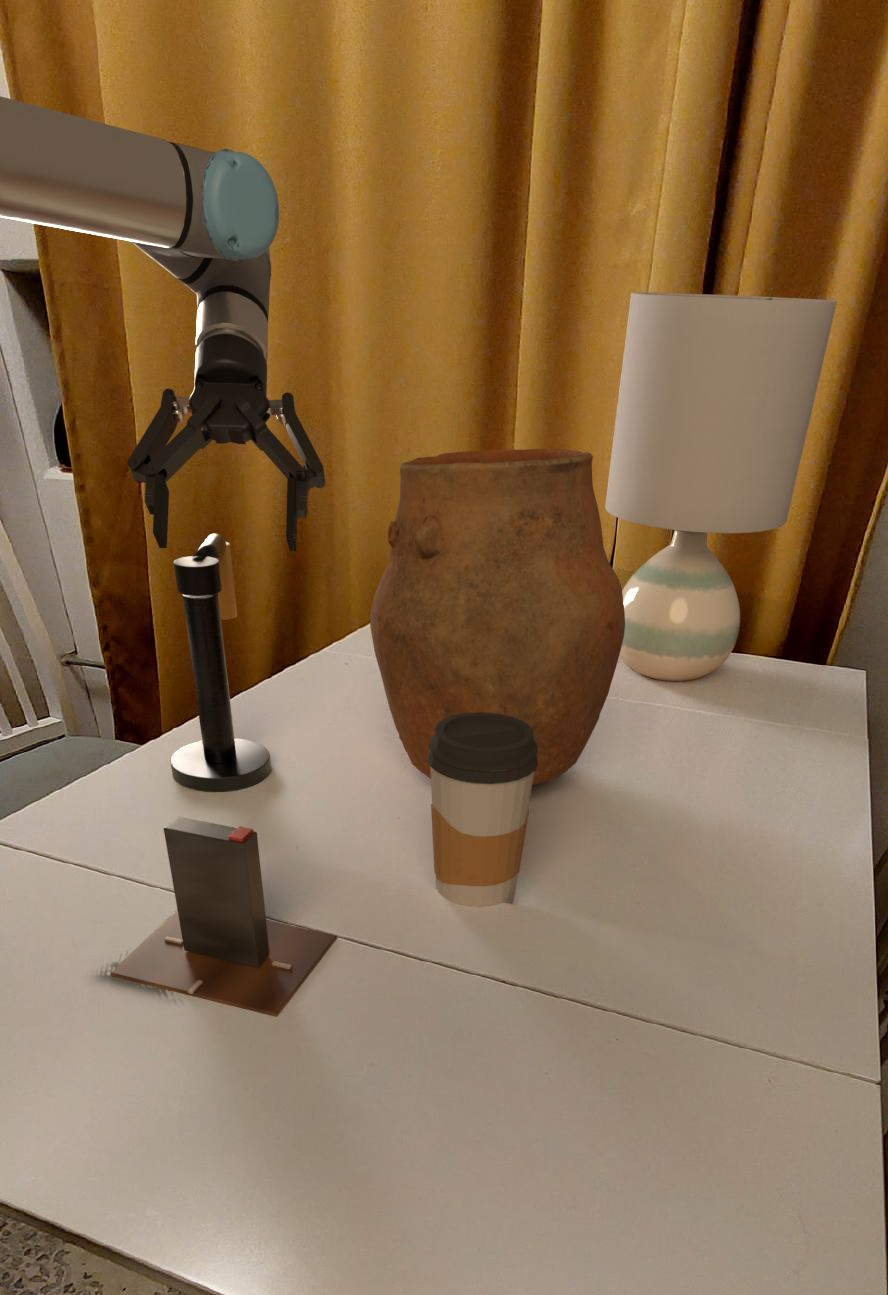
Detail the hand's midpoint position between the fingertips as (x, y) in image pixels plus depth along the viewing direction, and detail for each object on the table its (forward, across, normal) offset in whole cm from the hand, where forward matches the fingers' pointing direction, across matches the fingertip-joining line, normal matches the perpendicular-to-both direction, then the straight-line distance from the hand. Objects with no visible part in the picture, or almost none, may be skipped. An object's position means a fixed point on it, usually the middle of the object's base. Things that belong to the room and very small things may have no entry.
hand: (225, 542), depth 98 cm
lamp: (0, -54, -26) cm, 60 cm away
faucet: (+24, 0, -2) cm, 24 cm away
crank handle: (+11, 0, +3) cm, 12 cm away
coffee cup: (+42, -25, +15) cm, 51 cm away
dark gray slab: (+47, -6, +24) cm, 53 cm away
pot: (+24, -28, -3) cm, 37 cm away
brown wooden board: (+49, -6, +22) cm, 54 cm away
